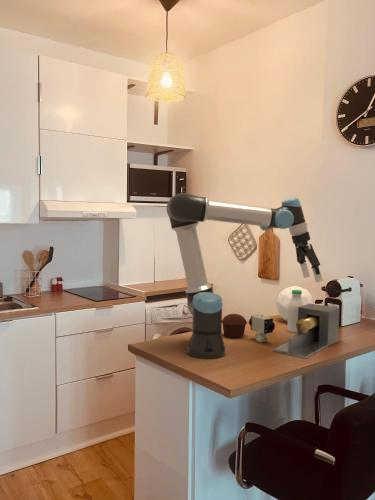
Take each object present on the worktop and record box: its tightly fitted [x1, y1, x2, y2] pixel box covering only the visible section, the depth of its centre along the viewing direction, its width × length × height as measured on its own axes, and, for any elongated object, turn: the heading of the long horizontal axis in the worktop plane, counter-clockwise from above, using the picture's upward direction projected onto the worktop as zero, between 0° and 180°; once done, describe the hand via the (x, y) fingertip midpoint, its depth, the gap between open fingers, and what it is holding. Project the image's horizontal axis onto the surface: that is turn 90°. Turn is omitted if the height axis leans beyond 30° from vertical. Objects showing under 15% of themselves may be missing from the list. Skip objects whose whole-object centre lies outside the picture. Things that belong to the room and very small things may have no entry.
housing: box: [272, 303, 340, 359], centre depth 188 cm, size 14×34×15 cm, turn 141°
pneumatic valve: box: [248, 313, 276, 344], centre depth 194 cm, size 6×12×12 cm, turn 35°
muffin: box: [222, 313, 248, 340], centre depth 203 cm, size 12×11×10 cm
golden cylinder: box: [296, 315, 320, 333], centre depth 190 cm, size 6×15×6 cm, turn 141°
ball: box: [275, 285, 315, 322], centre depth 232 cm, size 19×20×20 cm
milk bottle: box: [286, 290, 304, 334], centre depth 213 cm, size 8×8×20 cm
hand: (313, 279), depth 193 cm, fingers open, 13 cm apart
